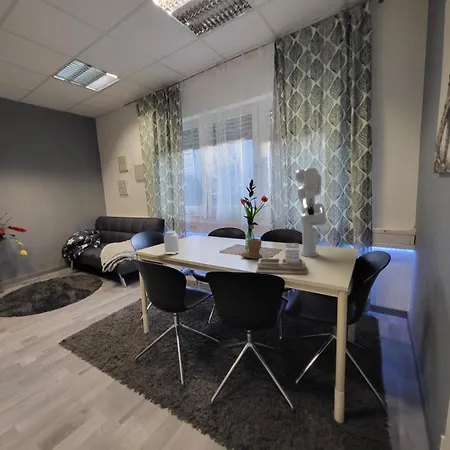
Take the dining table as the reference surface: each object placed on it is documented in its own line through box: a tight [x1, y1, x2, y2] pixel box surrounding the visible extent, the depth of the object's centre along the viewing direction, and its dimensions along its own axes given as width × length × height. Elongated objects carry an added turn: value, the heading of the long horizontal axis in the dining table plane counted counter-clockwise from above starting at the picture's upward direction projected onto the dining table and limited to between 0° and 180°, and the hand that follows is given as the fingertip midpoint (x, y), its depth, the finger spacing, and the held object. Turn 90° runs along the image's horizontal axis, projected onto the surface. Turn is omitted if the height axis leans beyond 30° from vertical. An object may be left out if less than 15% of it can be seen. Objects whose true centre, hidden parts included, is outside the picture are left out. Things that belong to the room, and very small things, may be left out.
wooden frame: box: [255, 258, 307, 276], centre depth 155 cm, size 24×30×4 cm
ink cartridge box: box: [285, 242, 300, 263], centre depth 153 cm, size 9×5×15 cm, turn 75°
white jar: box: [163, 230, 180, 253], centre depth 212 cm, size 12×12×20 cm
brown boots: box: [240, 237, 263, 260], centre depth 182 cm, size 15×12×15 cm
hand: (310, 214), depth 156 cm, fingers open, 9 cm apart
